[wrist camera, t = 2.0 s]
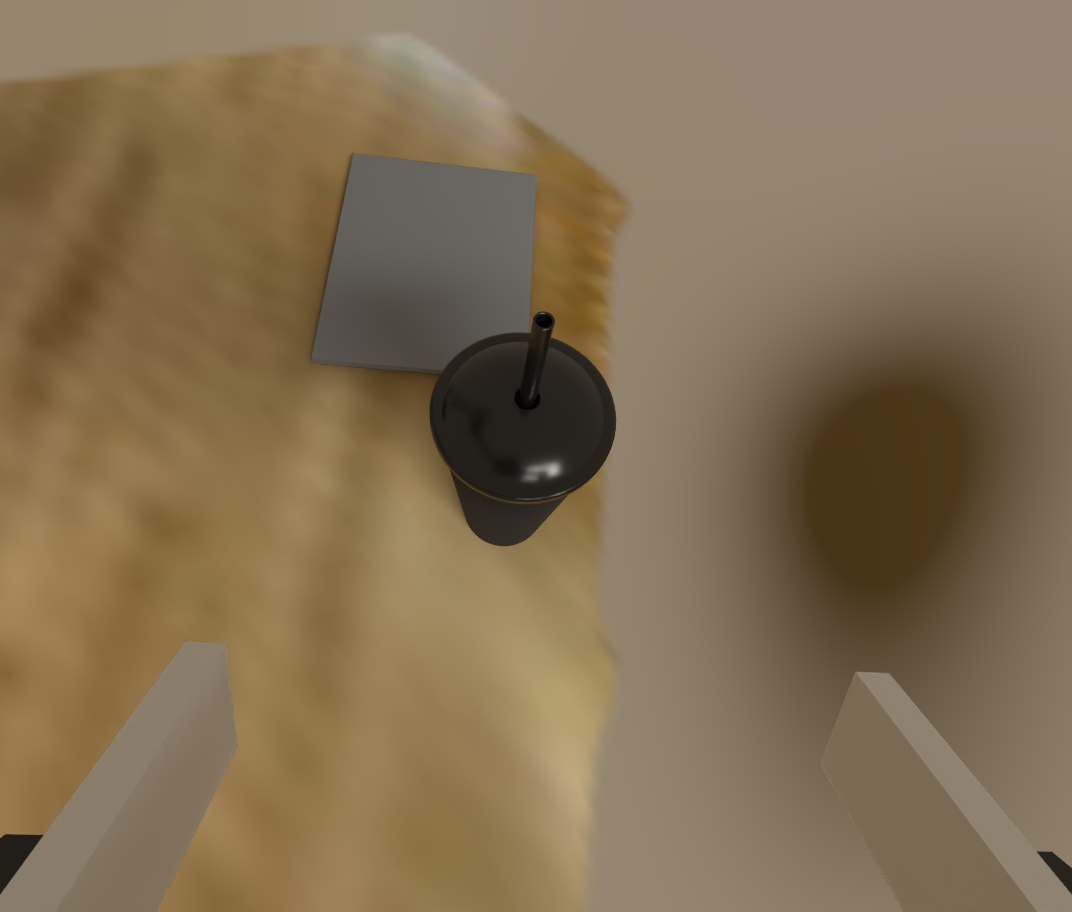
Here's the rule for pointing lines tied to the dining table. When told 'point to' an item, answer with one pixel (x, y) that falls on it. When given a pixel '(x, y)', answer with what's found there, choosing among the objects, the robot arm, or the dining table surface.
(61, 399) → the dining table surface
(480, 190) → the placemat
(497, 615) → the dining table surface
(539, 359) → the drinking cup
